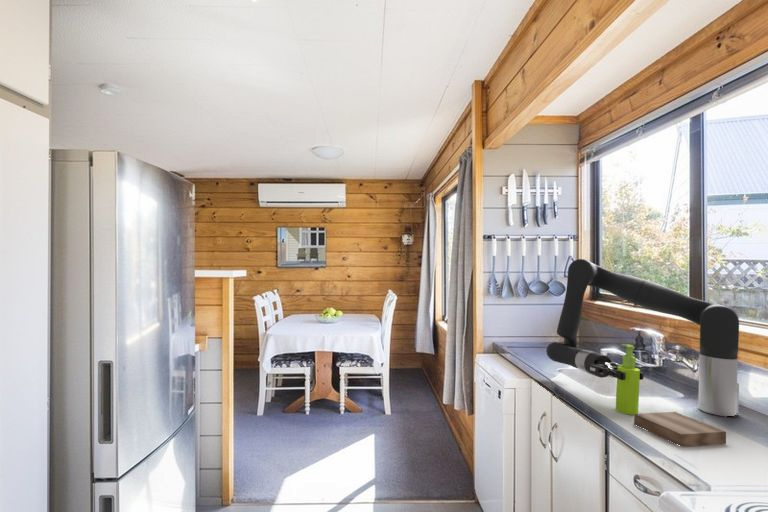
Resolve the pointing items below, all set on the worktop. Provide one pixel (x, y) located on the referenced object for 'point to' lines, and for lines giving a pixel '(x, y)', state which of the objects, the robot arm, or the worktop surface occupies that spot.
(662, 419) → the wooden cutting board
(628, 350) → the soap dispenser
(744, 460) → the worktop surface
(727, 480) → the worktop surface
